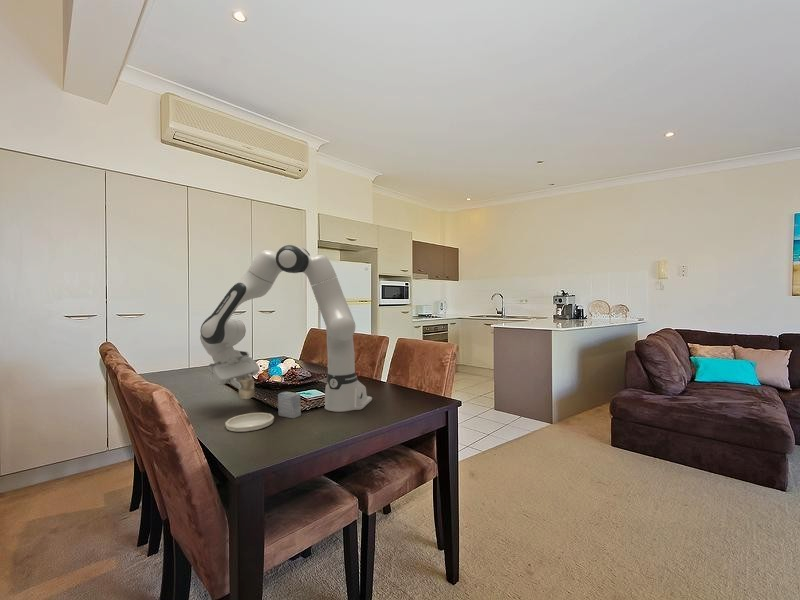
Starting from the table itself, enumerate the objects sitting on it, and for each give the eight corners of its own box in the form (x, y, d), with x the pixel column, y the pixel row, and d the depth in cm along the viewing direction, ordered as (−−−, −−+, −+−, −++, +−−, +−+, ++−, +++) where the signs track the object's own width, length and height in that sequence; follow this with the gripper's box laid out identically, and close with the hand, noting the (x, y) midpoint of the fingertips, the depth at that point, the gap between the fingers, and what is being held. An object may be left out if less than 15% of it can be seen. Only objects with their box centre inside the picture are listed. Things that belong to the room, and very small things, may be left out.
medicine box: (301, 415, 148) (300, 393, 148) (292, 419, 144) (292, 396, 144) (286, 412, 152) (286, 391, 152) (277, 416, 148) (277, 393, 148)
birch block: (247, 395, 154) (246, 378, 154) (254, 396, 153) (253, 379, 153) (239, 398, 151) (238, 380, 151) (246, 399, 149) (246, 381, 149)
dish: (250, 415, 150) (250, 410, 150) (282, 420, 143) (282, 415, 143) (215, 428, 135) (215, 424, 135) (249, 435, 129) (249, 430, 129)
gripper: (209, 359, 145) (229, 387, 141) (250, 351, 164) (269, 375, 160) (201, 370, 147) (220, 398, 143) (243, 361, 166) (261, 385, 162)
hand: (246, 386), depth 152 cm, fingers closed on birch block, 4 cm apart
